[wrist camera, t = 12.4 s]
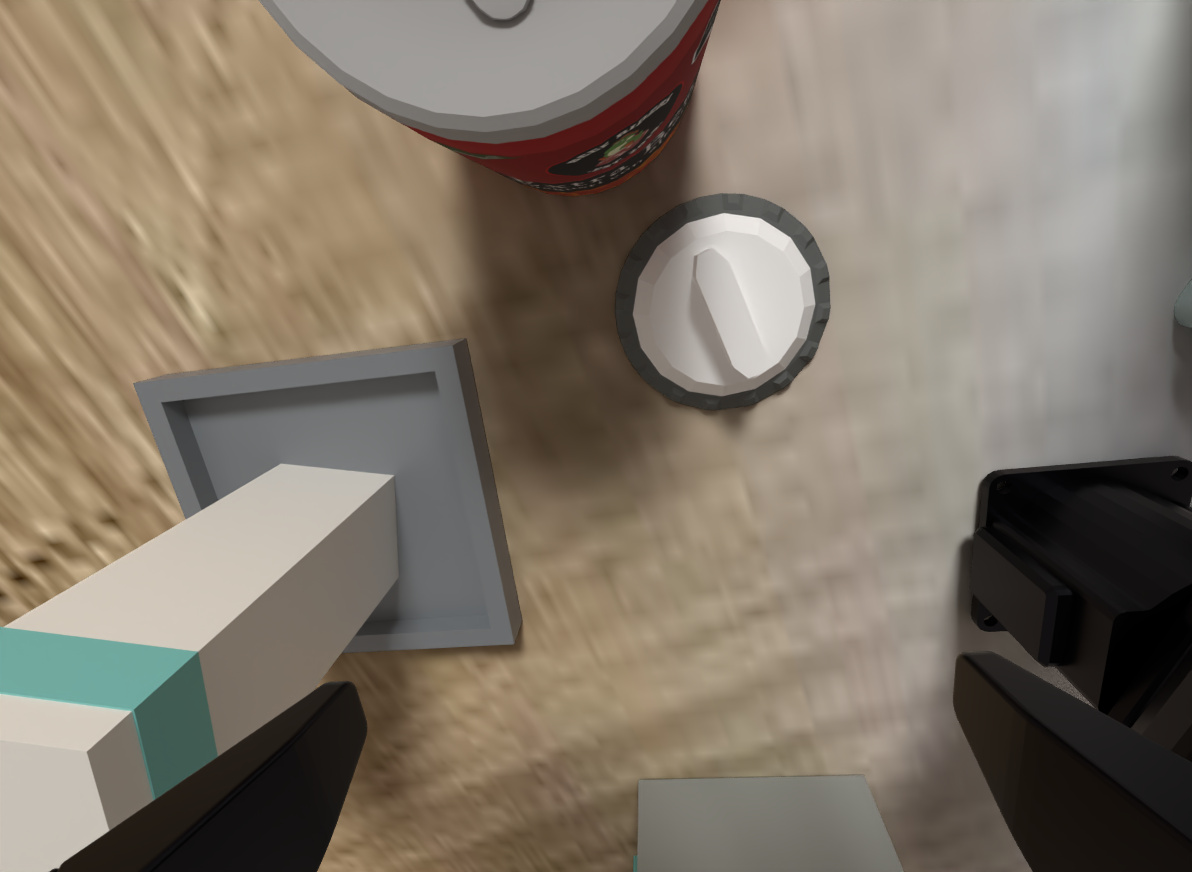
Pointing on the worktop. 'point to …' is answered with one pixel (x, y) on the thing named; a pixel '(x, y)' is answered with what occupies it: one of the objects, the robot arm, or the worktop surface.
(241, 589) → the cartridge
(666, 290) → the stove knob
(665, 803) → the unit
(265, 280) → the worktop surface
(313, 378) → the tray
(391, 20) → the canned food
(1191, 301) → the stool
